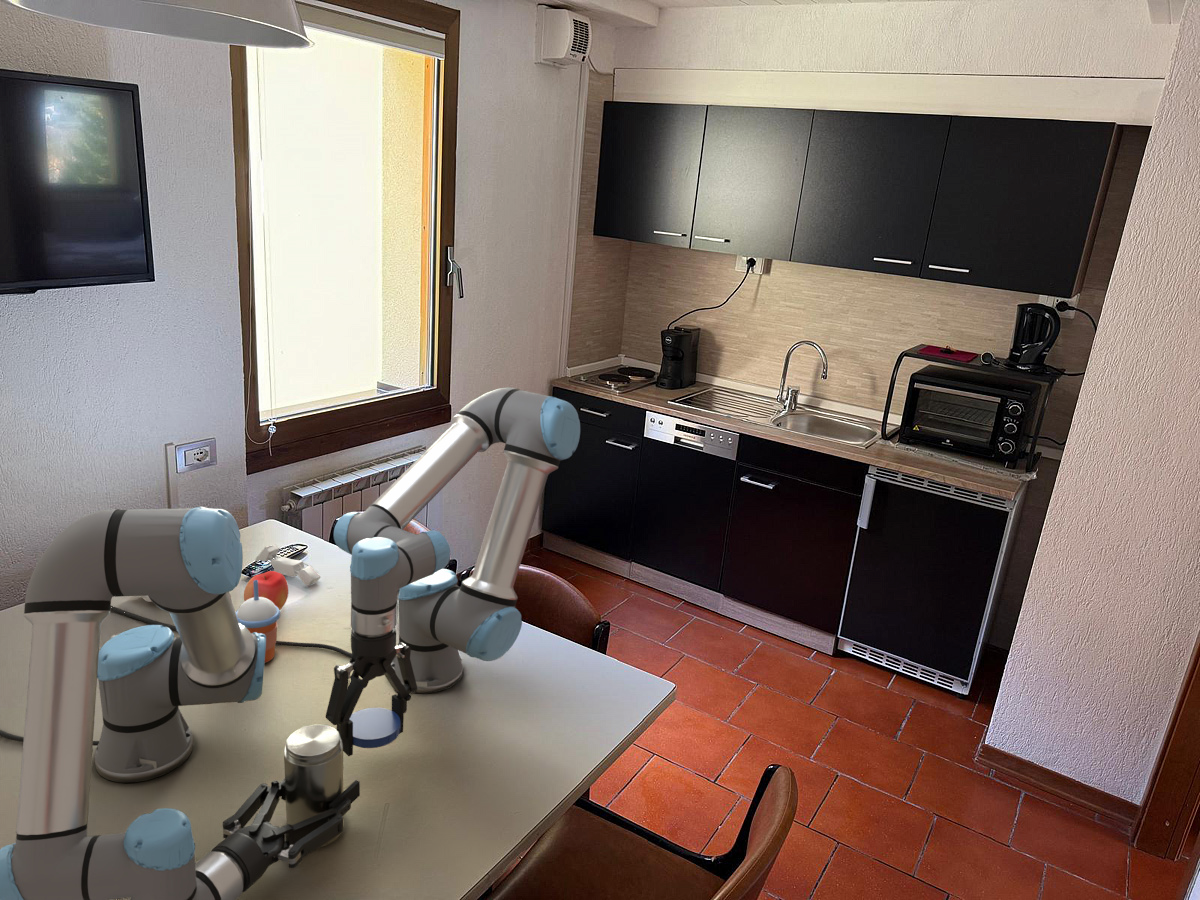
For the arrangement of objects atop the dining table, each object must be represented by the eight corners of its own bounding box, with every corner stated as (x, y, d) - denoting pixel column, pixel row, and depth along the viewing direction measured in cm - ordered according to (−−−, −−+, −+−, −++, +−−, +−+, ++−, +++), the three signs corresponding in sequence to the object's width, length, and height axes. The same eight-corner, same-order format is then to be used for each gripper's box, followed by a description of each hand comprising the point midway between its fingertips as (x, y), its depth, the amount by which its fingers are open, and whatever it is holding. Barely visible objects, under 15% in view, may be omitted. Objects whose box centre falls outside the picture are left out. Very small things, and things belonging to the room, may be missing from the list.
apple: (273, 600, 207) (272, 562, 204) (297, 613, 202) (296, 575, 199) (237, 614, 200) (234, 575, 197) (261, 628, 194) (259, 588, 191)
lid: (332, 734, 150) (331, 725, 149) (372, 709, 158) (372, 700, 157) (372, 755, 145) (372, 746, 144) (411, 728, 153) (412, 720, 153)
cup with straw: (266, 671, 178) (262, 594, 173) (227, 664, 180) (222, 586, 174) (290, 650, 187) (287, 575, 181) (252, 643, 188) (248, 568, 183)
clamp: (253, 565, 223) (254, 542, 221) (265, 560, 226) (266, 537, 224) (309, 593, 215) (310, 569, 213) (320, 588, 218) (321, 564, 216)
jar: (333, 803, 143) (332, 716, 138) (351, 836, 137) (350, 746, 132) (280, 821, 139) (276, 732, 134) (295, 856, 132) (292, 764, 127)
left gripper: (171, 866, 125) (283, 776, 145) (287, 922, 117) (388, 819, 137) (168, 824, 122) (282, 738, 142) (285, 878, 115) (388, 780, 135)
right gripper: (325, 657, 135) (326, 777, 141) (440, 617, 151) (436, 726, 157) (302, 638, 140) (303, 755, 146) (415, 601, 156) (413, 708, 162)
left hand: (334, 778), depth 140 cm, fingers closed on jar, 9 cm apart
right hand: (372, 740), depth 152 cm, fingers closed on lid, 9 cm apart
